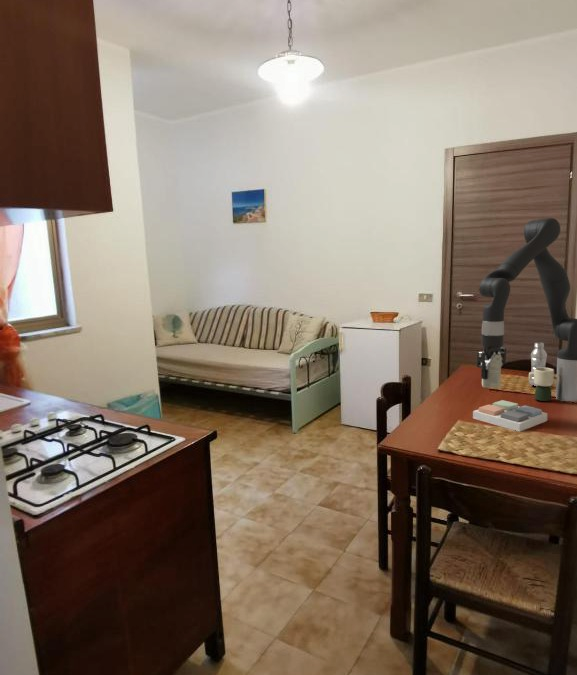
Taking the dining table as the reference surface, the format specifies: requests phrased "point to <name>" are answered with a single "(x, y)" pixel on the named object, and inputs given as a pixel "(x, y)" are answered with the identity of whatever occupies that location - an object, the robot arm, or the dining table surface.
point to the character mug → (543, 382)
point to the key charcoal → (514, 416)
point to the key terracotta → (491, 410)
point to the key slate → (529, 410)
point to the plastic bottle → (537, 359)
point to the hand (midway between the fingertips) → (491, 377)
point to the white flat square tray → (508, 423)
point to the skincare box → (493, 373)
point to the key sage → (506, 405)
